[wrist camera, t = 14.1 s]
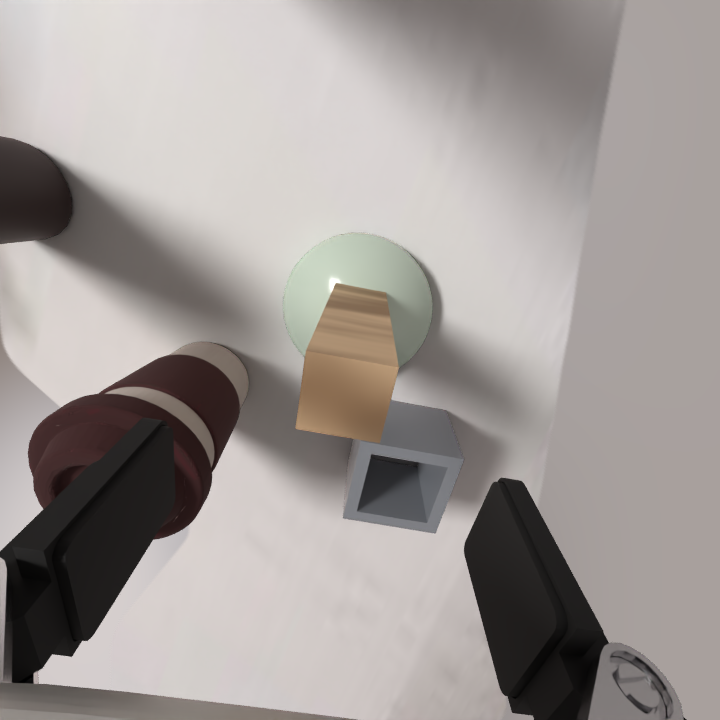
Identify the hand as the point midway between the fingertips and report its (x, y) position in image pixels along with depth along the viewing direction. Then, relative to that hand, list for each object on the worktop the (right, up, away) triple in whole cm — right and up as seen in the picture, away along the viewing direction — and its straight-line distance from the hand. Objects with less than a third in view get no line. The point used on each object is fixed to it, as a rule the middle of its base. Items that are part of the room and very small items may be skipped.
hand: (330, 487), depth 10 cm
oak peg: (+1, +8, +18) cm, 20 cm away
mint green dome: (+1, +8, +19) cm, 21 cm away
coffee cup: (-13, +2, +23) cm, 26 cm away
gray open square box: (+4, -4, +25) cm, 25 cm away
